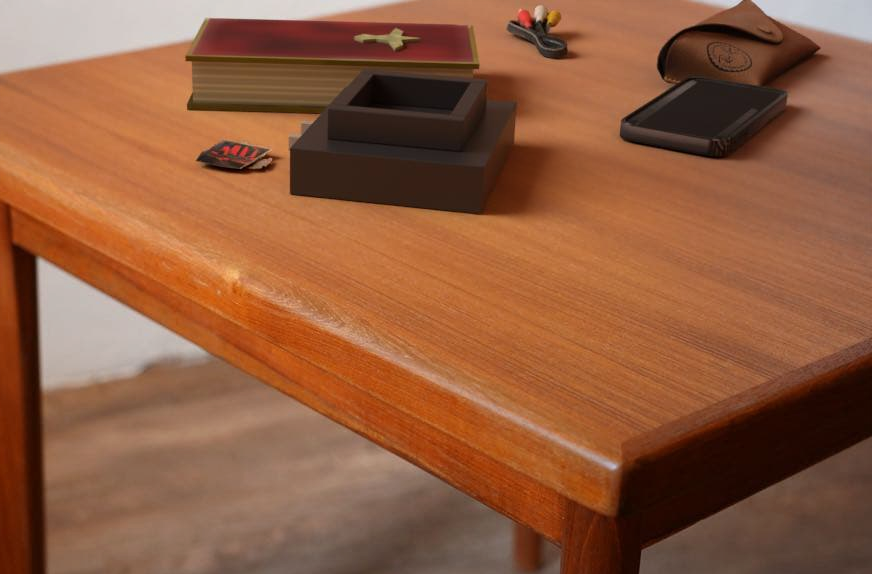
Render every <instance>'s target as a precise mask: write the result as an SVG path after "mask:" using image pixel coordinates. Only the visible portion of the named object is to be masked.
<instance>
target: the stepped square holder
mask: <svg viewBox="0 0 872 574" xmlns="http://www.w3.org/2000/svg"><path fill="white" fill-rule="evenodd" d="M488 85H489V79H486V78H485V79H484V78H474V77H473V78H463V77H451V76H439V75H427V74H415V73H403V72H391V71H380V70H368V69H363V70H362V71H361V72H360V73H359V74H358V75H357V77H356V78H355V79H354V80H353V81H352V82H351V83H350V84H349V85H348V87H345V88H344V89H343V90H342V91H341V92H340V93H339V95H338V96H337V97H336V98H335V99H334V100H333V101H332V102H331V103H330V104H329V106H328V107H327V108H326V109H325V110H324V111H323V112H322V113H319V115H318V116H317V118H316V119H315V120H314V121H313V120H302V121H301V122H300V134H298V133H290V134H289V135H288V136H287V151H289V194H290V195H296V196H304V197H315V198H325V199H334V200H343V201H352V202H362V203H372V204H381V205H382V204H383V205H391V206H401V207H408V208H409V207H410V208H420V209H429V210H439V211H446V212H447V211H449V212H458V213H467V214H478V215H481V214H482V213H483V212H484V211H483V210H484V209H485V207H486V204H487V202H488V200H489V198H490V196H491V194H492V192H493V189H494V187H495V185H496V183H497V181H498V179H499V177H500V174H501V172H502V170H503V168H504V166H505V165H506V162H507V159H508V157H509V155H510V153H511V151H512V149H513V147H514V144H515V135H516V133H515V132H516V121H517V109H518V108H517V107H518V102H517V101H512V100H511V101H510V100H501V99H500V100H498V99H488V87H489V86H488Z"/></svg>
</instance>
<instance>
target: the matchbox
mask: <svg viewBox="0 0 872 574" xmlns="http://www.w3.org/2000/svg"><path fill="white" fill-rule="evenodd" d="M273 150H274V148H270V147H265V146H262V145H259V144H252V143H249V142H248V141H245V142H242V141H234V140H227V139H221V140H220V141H219V142H218V143H214V145H213V146H211V147H210V148H208V149H206V150H202V151H201V152H200V154H199V155H198V157H197V158H196V160H195V162H197V163H202V164H208V165H212V166H217V167H220V168H221V167H222V168H226V169H229V168H230V169H238V170H239V169H240V170H241V169H243V168H244V167H247V166H248V169H249V170H250V169H251V170H256V169H258V170H259V169H263V167H265V168H267V167H268V166H269V165H270V164H271V163H272V161H273V158H272V157H268V158H264V157H266V156H268V155H269V154H270V152H271V151H273ZM267 153H269V154H267ZM266 154H267V155H266ZM252 163H253V164H252ZM250 165H252V166H250ZM206 168H207V169H209V167H208V166H207V167H206ZM212 169H214V168H213V167H211V170H212Z"/></svg>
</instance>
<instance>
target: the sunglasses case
mask: <svg viewBox="0 0 872 574" xmlns="http://www.w3.org/2000/svg"><path fill="white" fill-rule="evenodd" d="M820 50H821V47H820V45H818V44H817V43H816V42H815V41H813V40H812V39H811V38H809V37H807V36H805V35H804V34H802V33H800V32H798V31H796V30H794V29H792V28H790V27H789V26H787V25H786V24H783V23H781V22H780V21H778V20H776V19H774V18H773V17H771V16H770V15H767V14H766V13H765V11H764V10H762V8H760V6H758V5H757V4H756V3H755V2H754V1H752V0H741V1H740V2H739V3H737V4H736V5H734V6H731V7H729V8H727V9H723V10H722V11H720V12H717V13H716V14H713V15H711V16H709V17H707V18H704V19H703V20H701V21H700V22H698V23H696V24H694V25H690V26H688V27H685V28H683V29H681V30H679V31H677V32H675V34H674V35H672V36H671V37H670V38H669V39H667V41H666V42H665V43H664V44H663V45H662V47H661V49H660V50H659V52H658V55H657V61H656V69H657V71H658V74H659V75H660V77H661V79H662V80H663V81H664V82H665V83H668V84H672V85H676V84H678V83H679V82H681V81H682V80H684V79H686V78H688V77H693V76H699V77H706V78H713V79H720V80H727V81H733V82H739V83H745V84H751V85H757V86H763V87H765V85H766V84H768V83H770V82H771V81H772V80H773V79H775V78H776V77H779V75H781V74H784V72H786V71H788V70H790V69H792V68H794V67H796V66H797V65H798V64H800V63H802V62H803V61H805V60H806V59H808V58H809V57H810V58H811V56H813V55H814V54H815V53H817V52H818V51H820Z"/></svg>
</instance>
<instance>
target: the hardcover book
mask: <svg viewBox="0 0 872 574" xmlns="http://www.w3.org/2000/svg"><path fill="white" fill-rule="evenodd" d="M185 62H191V79H192V80H191V81H192V82H191V84H192V92H191V95H190V96H189V99H188V100H187V103H186V110H193V111H195V110H196V111H197V110H199V111H232V112H233V111H235V112H262V113H263V112H266V113H299V114H301V113H302V114H303V113H304V114H321V113H322V112H323V111H324V110H325V109H326V108H327V107H328V106H329V104H330V103H331V102H332V101H333V100H334V99H335V98H336V97H337V96H338V95H339V93H340V92H341V91H342V90H343V89H344V88H345V87H348V85H349V84H350V83H351V82H352V81H353V80H354V79H355V78H356V77H357V75H358V74H359V73H360V72H361V71H362V70H363V69H368V70H380V71H391V72H403V73H415V74H427V75H439V76H451V77H463V78H474V70H480V60H479V53H478V48H477V41H476V37H475V31H474V25H473V24H455V23H454V24H453V23H452V24H448V23H413V22H379V21H378V22H376V21H372V22H371V21H342V20H341V21H339V20H338V21H337V20H335V21H334V20H301V19H300V20H299V19H298V20H297V19H296V20H295V19H265V18H264V19H263V18H225V17H205V18H204V20H203V21H202V23H201V25H200V27H199V29H198V31H197V33H196V34H195V37H194V39H193V40H192V42H191V45H190V46H189V48H188V50H187V52H186V54H185Z"/></svg>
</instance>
